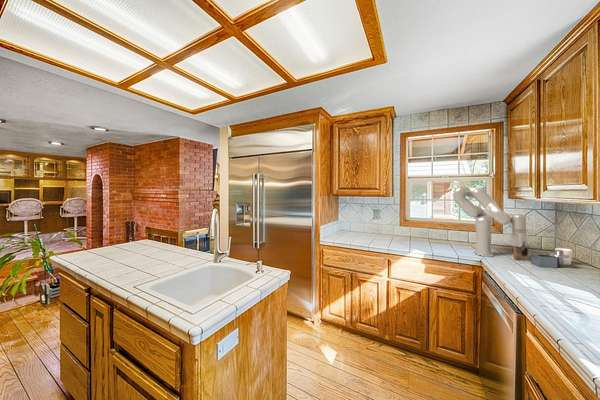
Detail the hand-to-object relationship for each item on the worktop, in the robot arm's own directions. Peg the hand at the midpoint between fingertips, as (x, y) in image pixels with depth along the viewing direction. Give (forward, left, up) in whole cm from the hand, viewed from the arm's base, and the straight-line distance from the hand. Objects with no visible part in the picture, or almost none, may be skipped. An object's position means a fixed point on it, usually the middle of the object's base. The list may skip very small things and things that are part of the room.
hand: (519, 254), depth 166 cm
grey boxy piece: (+13, +10, -4) cm, 17 cm away
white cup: (+5, +23, -5) cm, 24 cm away
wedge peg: (0, 0, -5) cm, 5 cm away
